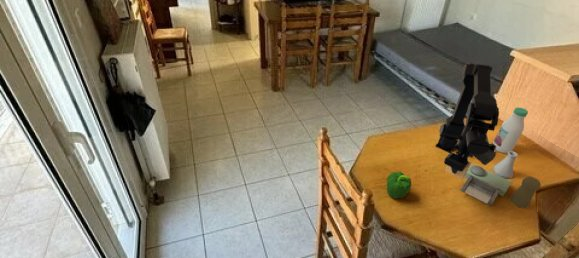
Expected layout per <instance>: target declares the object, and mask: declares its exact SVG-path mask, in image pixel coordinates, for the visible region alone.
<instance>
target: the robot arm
mask: <svg viewBox="0 0 579 258" xmlns="http://www.w3.org/2000/svg"><path fill="white" fill-rule="evenodd" d="M492 71H493V67H492V66H491V65H490V64H482V63H474V62H468V63H466V64H464V65H463V66H462V70H461V78H462V82H463V85H462V88H461V91H460V93H459V97H458V100H457V102H456V104H455V107H454V111H453V113H452V115H450V116H449V117H447V118H446V119H445V122H444V123H443V124H441V125H440V127H439V139H438V142H437V143H436V144H435V147H436V148H438V149H441V150H442V151H444V152H446V153H449V154H447V156H446V157H445V158H444V161H443V163H444V164H445V165H446V166H447V165H448V166H450V167H451V169H452V173H454V174H456V172H457V171H463V170H464V169H465V168H466V166H467V165H468V164H469V163H468V161H469V158H471V159H473V157H474V158H475V159H476V160H478V161H479V162H480V163H481V165H484V166H486V165H488V164H489V163H490V162H492V161H493V160H494V159H495V158H496V155H497V151H496V150H495V149H496V146H495V145H494V144H493V142H492V143H490V142H489V138H488V131H493V132H495V129H496V127H497V126H498V123H499V118H500V111H499V110H500V109H499V108H500V107H498V103H497V100H496V98H495V97H494V96H493V95H492V86H491V85H492V82H491V81H492V80H491V79H492V78H491V77H492V76H491V75H492ZM465 117H466V119H465ZM486 121H487V122H486ZM490 122H491V123H490ZM454 150H456V152H453V151H454Z"/></svg>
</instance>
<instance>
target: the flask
mask: <svg viewBox="0 0 579 258" xmlns="http://www.w3.org/2000/svg"><path fill="white" fill-rule="evenodd" d="M518 155H519V154H518V153H517V152H515V151H513V150H512V151H509V152H508V153H507V155H506V156H505V157H504V158H503V159H502V160H500V161H499V162H498V163H496V164H494V166H492V171H493V173H494V174H496V175H498V176H500V177H502V178H505V179H513V178H514V177H513V176H514V163H515V161H516V158H518Z"/></svg>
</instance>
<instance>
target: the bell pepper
mask: <svg viewBox="0 0 579 258" xmlns="http://www.w3.org/2000/svg"><path fill="white" fill-rule="evenodd" d="M404 174H405V173H403V172H402V171H394V172H391V173H390V174H388V176H387V179H386V193H387V195H389V197H390V198H393V199H398V198H400V199H401V198H404V197H405V196H406V195H407V194H408V192H409V191H410V189H411V187H412V179H411V178H410V177H409V176H407V175H406V174H405V175H404Z"/></svg>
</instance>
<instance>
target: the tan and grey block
mask: <svg viewBox="0 0 579 258" xmlns="http://www.w3.org/2000/svg"><path fill="white" fill-rule="evenodd" d="M468 163H469V164H468V165H467V166H466V168H465V169H464V170H463V171H457V172H456V174H454V173H452V169H451V167H450V166H448V165H446V167H445V169H444V171H445V172H446V173H449V174H450V175H452V176H454V177H456V178H458V179H461V180H462V179H463V178H465V177H464V176H465V174H466V173H467V171H468V170H469V168H470V167H471V165H472V162H471V161H470V160H468Z"/></svg>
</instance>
